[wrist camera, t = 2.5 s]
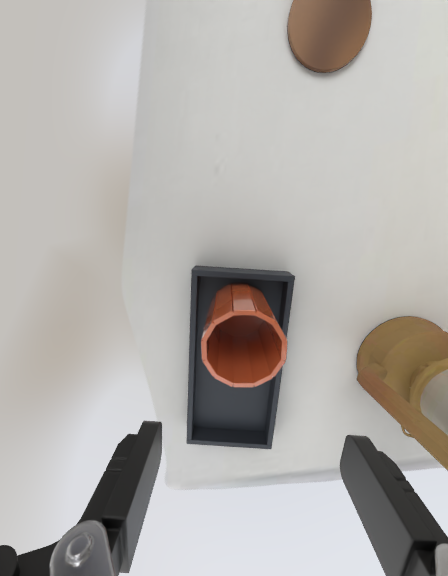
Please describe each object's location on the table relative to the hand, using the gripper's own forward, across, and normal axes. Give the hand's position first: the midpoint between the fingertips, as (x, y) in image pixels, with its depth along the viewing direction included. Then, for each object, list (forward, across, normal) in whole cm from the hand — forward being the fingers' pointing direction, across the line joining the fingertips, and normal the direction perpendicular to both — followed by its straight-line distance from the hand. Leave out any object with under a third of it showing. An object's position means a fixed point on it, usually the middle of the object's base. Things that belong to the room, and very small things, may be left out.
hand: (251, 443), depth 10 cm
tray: (+18, 0, +6) cm, 18 cm away
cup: (+17, 0, 0) cm, 17 cm away
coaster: (+18, -6, -26) cm, 32 cm away
